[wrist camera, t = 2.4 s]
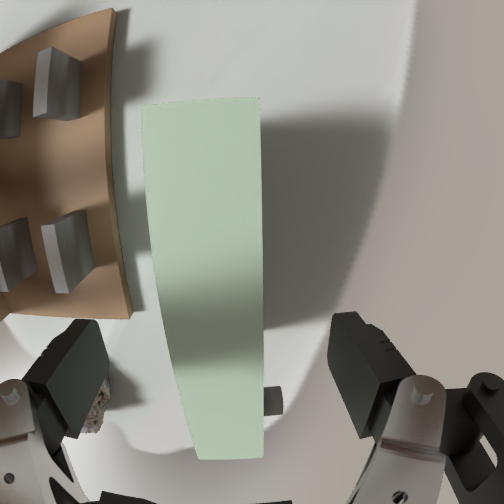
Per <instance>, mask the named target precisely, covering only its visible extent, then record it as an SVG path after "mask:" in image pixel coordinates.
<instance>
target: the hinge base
mask: <svg viewBox="0 0 504 504" xmlns="http://www.w3.org/2000/svg"><path fill="white" fill-rule="evenodd" d="M116 15H117V13H116V12H115V11H114V9H113V8H109V9H105V10H102V11H98V12H95V13H92V14H89V15H86V16H83V17H80V18H77V19H74V20H71V21H69V22H66V23H63V24H61V25H58V26H56V27H53V28H51V29H49V30H46V31H44V32H42V33H39V34H37V35H35V36H33V37H31V38H29V39H27V40H25V41H22V42H21V43H19V44H17V45H15V46H13V47H11V48H9V49H7V50H5V51H4V52H2V53H0V322H1V321H2V320H3V319H4V318H5V317H6V316H7V315H8V314H9V313H14V314H26V315H38V316H53V317H70V318H93V319H130V317H131V316H132V314H133V309H132V305H131V300H130V295H129V291H128V285H127V280H126V275H125V269H124V264H123V258H122V251H121V245H120V238H119V231H118V223H117V215H116V206H115V197H114V186H113V173H112V157H111V131H110V93H111V68H112V53H113V41H114V31H115V23H116Z"/></svg>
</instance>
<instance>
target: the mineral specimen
mask: <svg viewBox="0 0 504 504" xmlns="http://www.w3.org/2000/svg"><path fill="white" fill-rule="evenodd" d="M109 399H110V384H109V380H108V375H106V377H105V379H104V381H103V383H102V385H101V388H100V390H99V392H98V394H97V396H96V398H95V400H94V403H93V405H92V407H91V409H90V411H89V414H88V416H87V418H86V420H85V423H84V425H83V427H82V430H81V432H80V433H87V432H88V433H97V432H98V431H99V430H100V428H101V425H102V423H103V415H104V412H105V403H108V401H109Z"/></svg>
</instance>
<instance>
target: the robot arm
mask: <svg viewBox="0 0 504 504" xmlns="http://www.w3.org/2000/svg"><path fill="white" fill-rule="evenodd" d="M46 348H47V349H45V350H44V351H43V352H42V354H41V356H39V357H38V359H37V360H36V361H35V363H34V364H33V365H32V367H31V368H30V369H29V371H28V372H27V373H26V374H25V376H24V377H23V378H22V380H19V379H10V380H7V381H5V382H3V383H1V384H0V504H156V503H153V502H151V501H148V500H145V499H141V498H135V497H129V496H123V495H119V494H114V493H109V492H105V491H102V493H101V497H100V500H99V501H91V502H90V501H89V499H88V498H87V497H86V495H85V494H84V492H83V490H82V489H81V486H80V484H79V482H78V480H77V477H76V475H75V472H74V470H73V467H72V465H71V462H70V459H69V456H68V454H67V451H66V448H65V446H64V444H63V443H62V439H63V437H64V436H67V437H71V438H75V439H78V436H79V434H80V432H81V430H82V427H83V425H84V423H85V420H86V418H87V416H88V414H89V411H90V409H91V407H92V405H93V403H94V400H95V398H96V396H97V394H98V392H99V390H100V388H101V385H102V383H103V381H104V379H105V377H106V375H107V373H108V369H109V358H108V354H107V351H106V348H105V345H104V341H103V338H102V335H101V331H100V328H99V325H98V323H97V321H96V320H91V319H75V320H74V321H73V322H72V323H71V324H70V326H69V327H68V328H67V329H66V330H65V332H63V333H61V334H60V335H58V336H57V337H55V338H54V339H53V340H52V341H51V342H50V344H49V345H48V346H47V347H46ZM327 358H328V365H329V369H330V371H331V373H332V376H333V378H334V380H335V382H336V385H337V387H338V389H339V391H340V394H341V396H342V399H343V401H344V403H345V405H346V408H347V410H348V412H349V415H350V417H351V420H352V422H353V424H354V426H355V429H356V431H357V433H358V436H359V438H360V439H362V438H366V437H370V436H373V438H374V441H375V443H374V446H373V448H372V450H371V453H370V455H369V457H368V459H367V462H366V464H365V466H364V469H363V471H362V473H361V475H360V477H359V479H358V481H357V483H356V486H355V487H354V489H353V491H352V493H351V495H350V497H349V499H348V500H347V502H346V504H436V502H437V499H438V495H439V491H440V487H441V483H442V478H443V473H444V471H445V473H446V475H447V477H448V480H449V482H450V484H451V486H452V488H453V490H454V493H455V495H456V497H457V499H458V501H459V504H504V380H503V379H501V378H500V377H499V376H497V375H495V374H492V373H487V372H483V373H478V374H476V375H474V376H473V377H472V378H471V380H470V382H469V384H468V386H467V388H459V389H445V388H444V386H443V385H442V384H441V383H440V382H439V381H437V380H436V379H434V378H432V377H429V376H425V375H416V373H415V372H414V371H413V369H412V368H411V367H410V365H409V364H408V363H407V362H406V360H405V359H404V358H403V357H402V355H401V354H400V352H399V351H398V350H396V347H395V346H394V345H393V344H392V342H390V340H389V338H388V337H387V336H386V335H385V333H384V332H383V331H382V330H380V329H378V328H377V327H375V326H373V325H372V324H365V322H364V321H363V320H362V318H361V317H360V316H359V314H358V313H357V312H355V311H354V312H344V313H335V314H334V315H333V317H332V321H331V329H330V337H329V344H328V352H327ZM483 435H484V436H485V437H486V438H487V440H488V442H489V443H490V445H491V447H492V448H493V449H494V451H495V453H496V455H497V460H498V462H497V467H496V468H495V466H494V464H493V463H492V461H491V459H490V457H489V456H488V454H487V453H486V451H485V449H484V448H483V446H482V444H481V443H480V441H479V440H480V439H481V438H482V436H483ZM259 504H292V501H291V500H290V501H281V502H271V503H259Z"/></svg>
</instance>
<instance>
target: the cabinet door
mask: <svg viewBox="0 0 504 504" xmlns="http://www.w3.org/2000/svg"><path fill="white" fill-rule="evenodd" d="M142 144H143V165H144V181H145V194H146V205H147V216H148V225H149V234H150V242H151V250H152V258H153V265H154V272H155V278H156V285H157V291H158V297H159V303H160V308H161V314H162V319H163V324H164V329H165V334H166V339H167V344H168V349H169V353H170V358H171V362H172V367H173V371H174V375H175V379H176V383H177V387H178V391H179V395H180V399H181V403H182V406H183V410H184V414H185V417H186V421H187V424H188V427H189V431H190V434H191V437H192V441H193V444H194V447H195V450H196V453H197V456H198V459H248V458H262V457H263V439H264V416H270V415H281V414H283V397H282V391H281V387H280V386H275V387H264V343H263V240H262V181H261V135H260V98H222V99H205V100H192V101H181V102H171V103H163V104H155V105H148V106H142Z"/></svg>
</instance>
